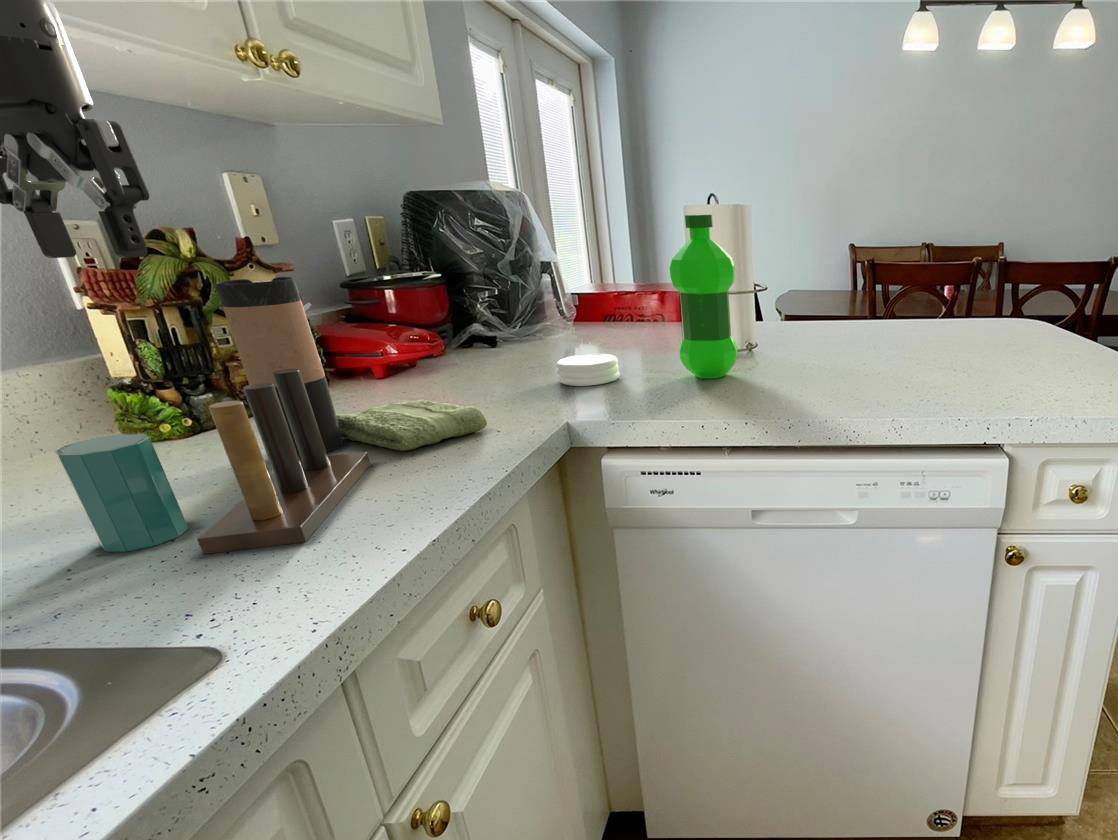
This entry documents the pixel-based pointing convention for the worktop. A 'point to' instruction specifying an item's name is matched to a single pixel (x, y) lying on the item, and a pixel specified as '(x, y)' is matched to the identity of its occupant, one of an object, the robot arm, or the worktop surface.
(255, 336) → the travel mug
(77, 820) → the worktop surface
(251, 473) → the drying rack
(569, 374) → the white stacked discs
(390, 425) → the washcloth
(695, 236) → the plastic bottle
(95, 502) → the teal octagonal prism
